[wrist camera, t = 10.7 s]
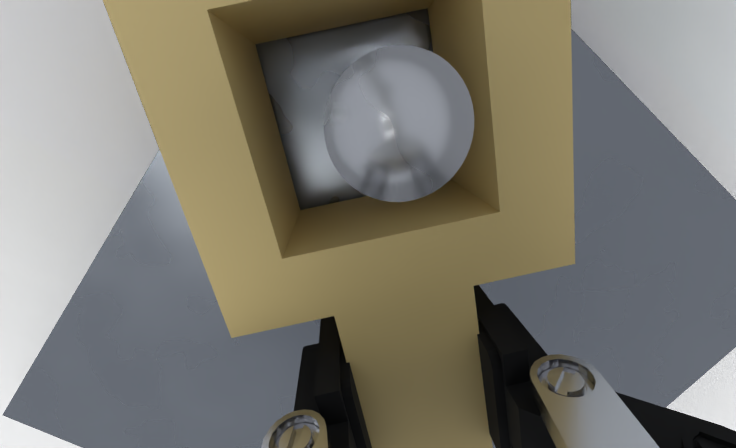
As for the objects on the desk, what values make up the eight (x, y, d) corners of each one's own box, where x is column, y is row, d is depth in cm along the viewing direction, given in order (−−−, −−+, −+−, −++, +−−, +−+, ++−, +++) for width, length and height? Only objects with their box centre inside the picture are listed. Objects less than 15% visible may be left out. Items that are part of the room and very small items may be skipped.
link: (174, -12, 9) (70, -85, 5) (480, -76, 9) (567, -187, 5) (343, 514, 14) (345, 636, 11) (525, 474, 15) (580, 583, 11)
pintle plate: (357, -160, 9) (407, -835, 2) (780, 267, 14) (1162, 411, 7) (26, 392, 13) (-275, 672, 7) (441, 569, 18) (498, 827, 12)
